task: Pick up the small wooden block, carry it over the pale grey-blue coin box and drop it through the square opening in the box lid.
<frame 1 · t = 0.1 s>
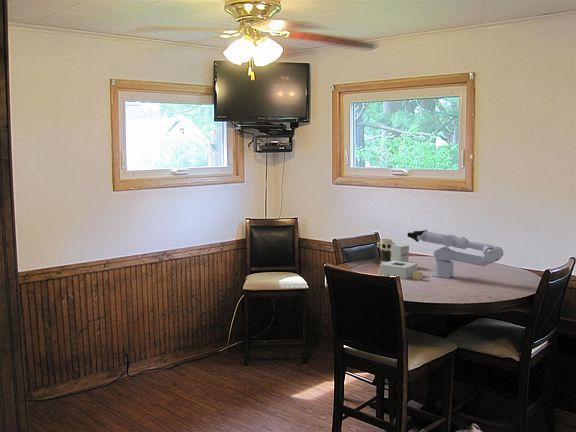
hand: (410, 233, 350), 22 cm above the table, tool horizontal, fingers open, 7 cm apart
wooden block: (417, 279, 332), on the table
coin box: (398, 274, 343), on the table
character mug: (385, 260, 384), on the table
supplement box: (399, 266, 367), on the table
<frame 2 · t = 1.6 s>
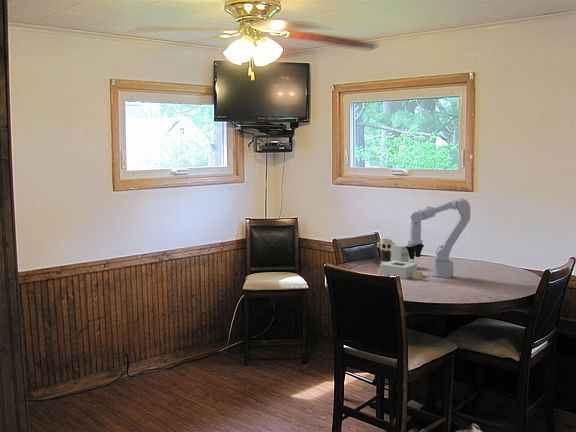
hand: (414, 258, 342), 9 cm above the table, tool pointing down, fingers open, 7 cm apart
nothing on the table moved.
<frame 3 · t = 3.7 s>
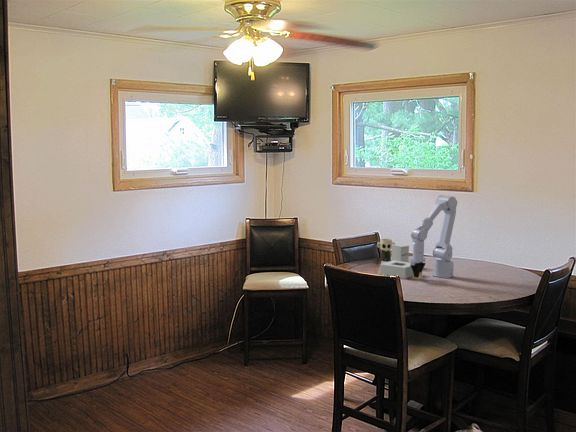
hand: (417, 276, 332), 1 cm above the table, tool pointing down, fingers closed on wooden block, 3 cm apart
wooden block: (417, 279, 332), on the table, touching gripper
everything else where it was.
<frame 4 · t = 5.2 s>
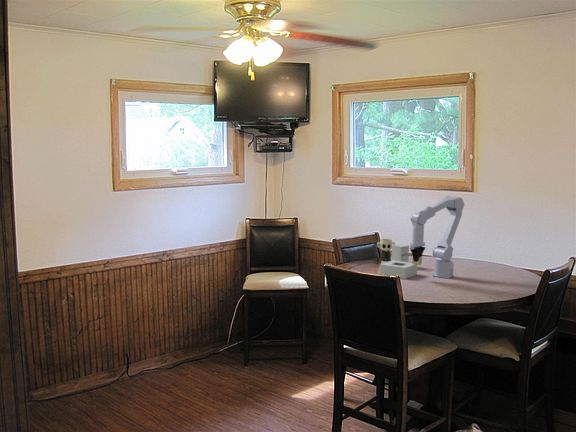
hand: (417, 260, 332), 10 cm above the table, tool pointing down, fingers closed on wooden block, 3 cm apart
wooden block: (416, 264, 332), point 8 cm above the table, touching gripper
everything else where it was.
when the fingers open (9 cm above the table, at t = 6.8 s): wooden block drops 7 cm, resting in coin box.
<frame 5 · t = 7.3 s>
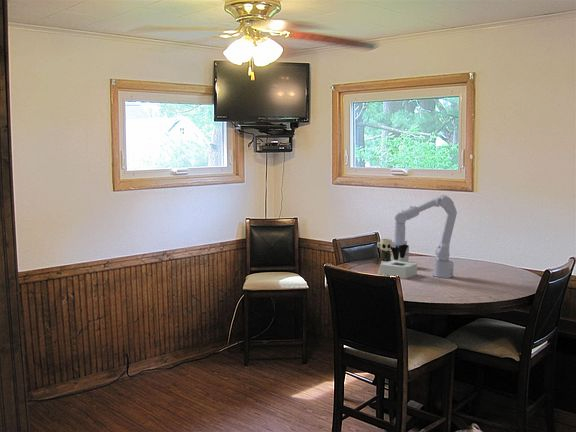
hand: (399, 258, 342), 9 cm above the table, tool pointing down, fingers open, 7 cm apart
wooden block: (398, 274, 343), resting in coin box
everything else where it was.
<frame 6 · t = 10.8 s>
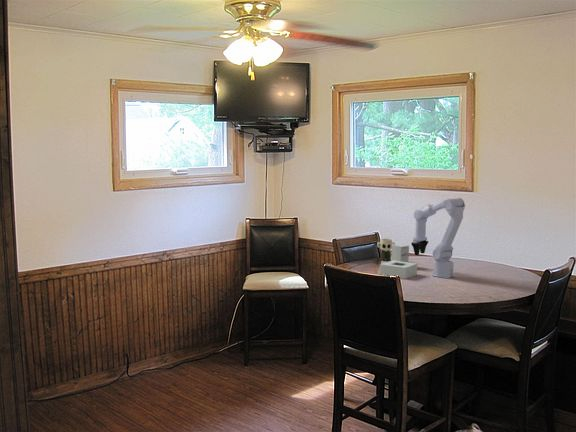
hand: (419, 254, 354), 9 cm above the table, tool pointing down, fingers open, 7 cm apart
nothing on the table moved.
at the end: wooden block inside the target area on the coin box (0.2 cm from its centre), point 0.0 cm above the coin box's base; the gripper is holding nothing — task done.
